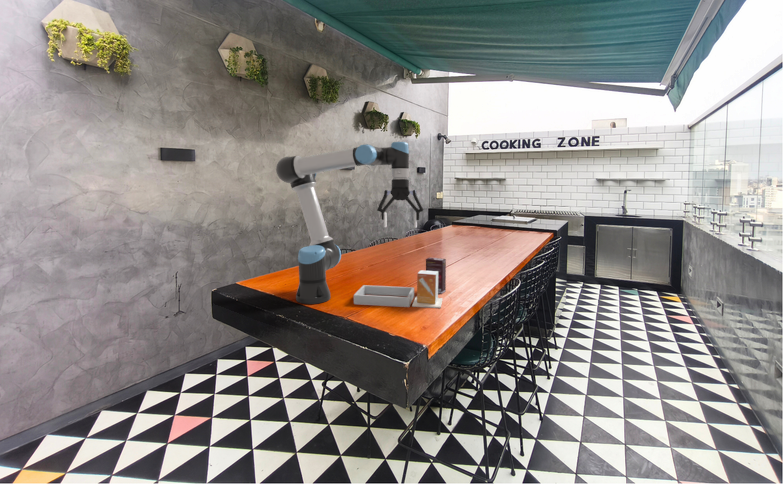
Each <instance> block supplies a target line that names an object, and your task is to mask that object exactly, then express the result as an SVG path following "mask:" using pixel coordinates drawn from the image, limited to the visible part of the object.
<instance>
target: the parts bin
mask: <svg viewBox="0 0 783 484" xmlns="http://www.w3.org/2000/svg"><path fill="white" fill-rule="evenodd" d="M414 299H415V287H411V286H388V285H371V284H370V285H367V284H363V285H362V286H361V287H360V288H359V289H358V290H357V291H356V292H355V293H354V294H353V304H354V305H362V306H381V307H395V308H396V307H400V308H410V307H411V306H412V305H411V304H412V303H413V301H414Z"/></svg>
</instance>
